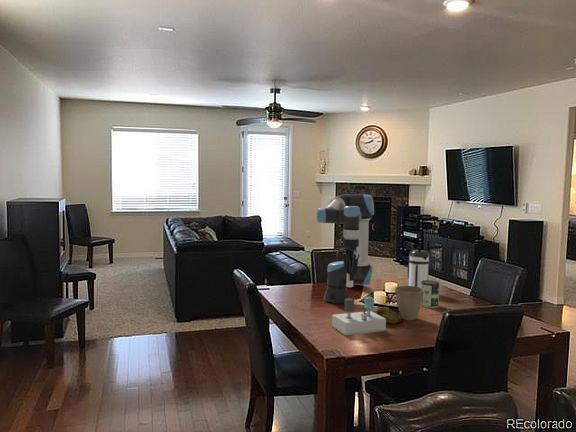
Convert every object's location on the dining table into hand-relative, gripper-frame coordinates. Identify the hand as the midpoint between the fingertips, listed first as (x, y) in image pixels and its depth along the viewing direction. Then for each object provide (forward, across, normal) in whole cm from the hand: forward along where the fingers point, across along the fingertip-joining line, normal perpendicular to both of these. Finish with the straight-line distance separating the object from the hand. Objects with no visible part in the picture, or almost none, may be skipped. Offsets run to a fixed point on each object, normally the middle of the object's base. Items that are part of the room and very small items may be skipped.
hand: (349, 286), depth 233 cm
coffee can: (+22, -25, +66) cm, 74 cm away
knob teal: (+16, 0, +11) cm, 20 cm away
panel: (+21, 0, +6) cm, 22 cm away
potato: (+22, -4, +26) cm, 34 cm away
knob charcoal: (+16, 0, 0) cm, 16 cm away
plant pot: (+22, -7, +40) cm, 46 cm away
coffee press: (+22, -57, +80) cm, 101 cm away
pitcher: (+22, -87, +46) cm, 101 cm away
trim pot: (+15, +5, +6) cm, 17 cm away
